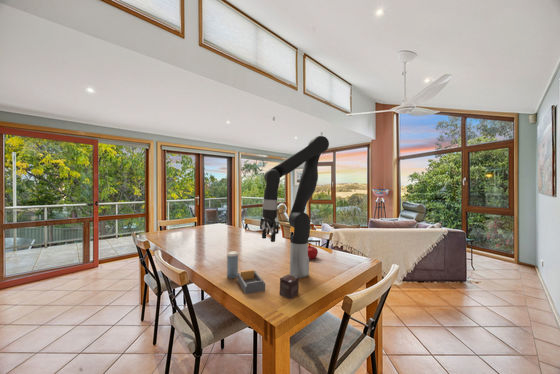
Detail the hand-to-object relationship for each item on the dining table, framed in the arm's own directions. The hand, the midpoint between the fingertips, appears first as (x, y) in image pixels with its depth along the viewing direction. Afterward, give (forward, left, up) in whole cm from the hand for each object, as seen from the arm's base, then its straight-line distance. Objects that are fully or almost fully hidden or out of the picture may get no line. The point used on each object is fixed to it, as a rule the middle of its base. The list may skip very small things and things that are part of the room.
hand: (268, 240), depth 115 cm
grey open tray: (+11, +6, -19) cm, 23 cm away
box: (-2, +21, -19) cm, 29 cm away
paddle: (+11, 0, -18) cm, 21 cm away
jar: (+17, -7, -19) cm, 26 cm away
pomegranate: (-36, -19, -19) cm, 45 cm away
